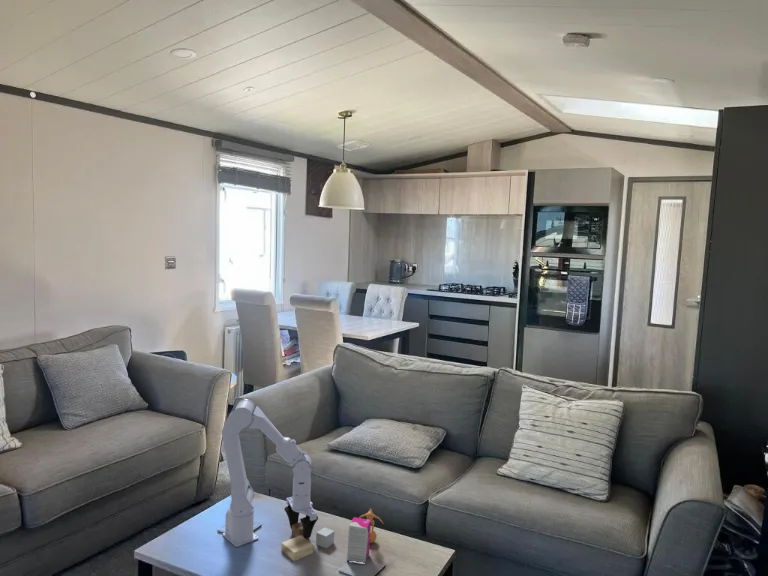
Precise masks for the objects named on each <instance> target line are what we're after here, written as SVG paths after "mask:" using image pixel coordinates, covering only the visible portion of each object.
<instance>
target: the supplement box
mask: <svg viewBox="0 0 768 576" xmlns="http://www.w3.org/2000/svg"><path fill="white" fill-rule="evenodd" d="M371 530H372V524H371V520H368V519H367V518H363V517H361V518H359V517H355V516H354V517H353V518H352V520H351V521H350V524H349V526H348V539H347V541H348V542H347V553H346V554H347V556H346V562H347V563H349V561H356V562H363V563H365V562H366V563H367V560H368V558H369V555H370V546H371V545H370V544H371V543H370V531H371ZM366 559H367V560H366ZM366 563H365V564H366Z"/></svg>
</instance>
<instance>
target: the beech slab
mask: <svg viewBox="0 0 768 576" xmlns="http://www.w3.org/2000/svg"><path fill="white" fill-rule="evenodd" d="M281 552H282V553H283V554H285V555H286V556H287V557H288V558H289V559H291V560H292V562H295V561H297V560H300V559H302V558H304V557H307V556H309V555H312V554H314V544H313V543H312V542H311V541H309V540H308V538H307V539H305V538H304V537H302V536H301V535H300V536H297V537H295V538H293V537H291V538H290V539H287V540H285V541H282V542H281Z"/></svg>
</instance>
